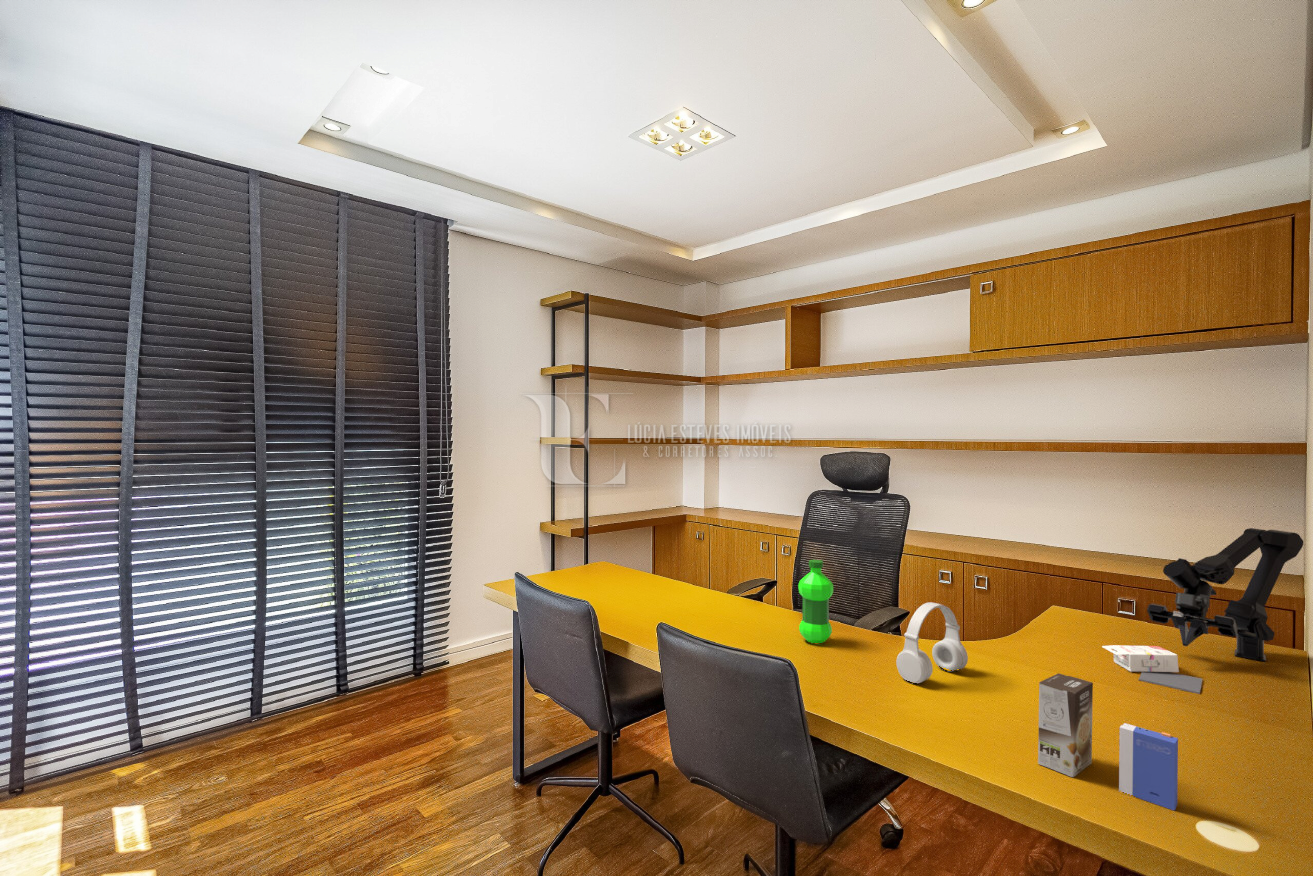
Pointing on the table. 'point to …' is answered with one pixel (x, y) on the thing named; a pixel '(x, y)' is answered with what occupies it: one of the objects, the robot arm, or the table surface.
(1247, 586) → the robot arm
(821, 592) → the plastic bottle
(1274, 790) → the table surface
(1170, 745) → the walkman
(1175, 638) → the table surface
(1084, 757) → the coffee box
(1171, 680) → the mat
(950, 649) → the headphones
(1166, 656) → the ink cartridge box
